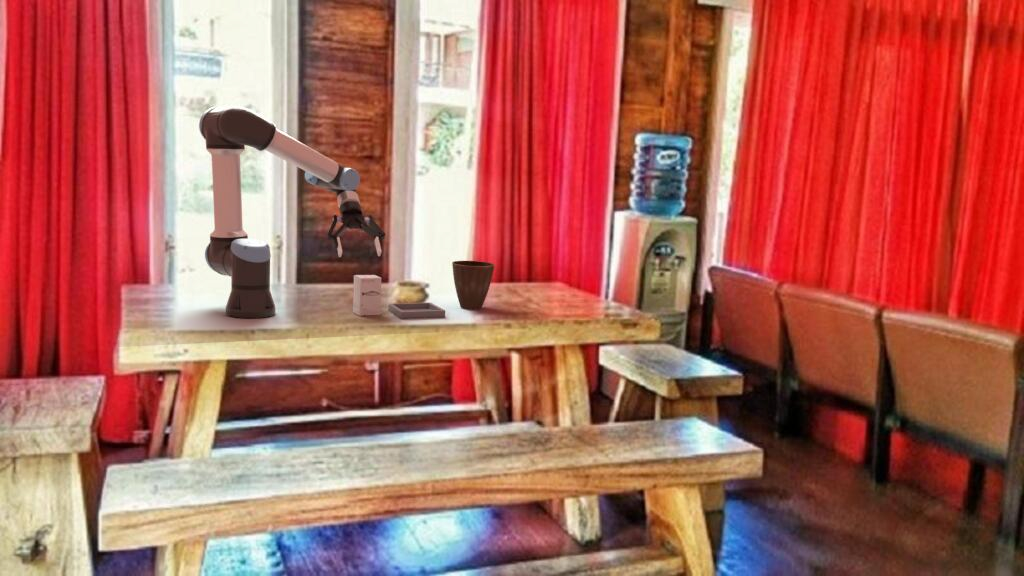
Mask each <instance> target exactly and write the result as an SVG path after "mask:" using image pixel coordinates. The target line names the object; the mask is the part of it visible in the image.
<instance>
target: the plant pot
mask: <svg viewBox="0 0 1024 576" xmlns="http://www.w3.org/2000/svg"><path fill="white" fill-rule="evenodd" d="M451 265H452V274H453V283H454V288H455V292H456V296H457V299H458V303H459V306H460V308H461V309H464V310H470V309H472V310H473V309H477V310H481V309H482V308H483V305H484V303H485V300H486V298H487V296H488V293H489V290H490V286H491V283H492V279H493V276H494V270H495V264H494V263H492V262H488V261H487V262H486V261H480V260H479V261H478V260H455V261H452V264H451ZM472 310H471V311H472Z"/></svg>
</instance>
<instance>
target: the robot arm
mask: <svg viewBox="0 0 1024 576" xmlns="http://www.w3.org/2000/svg"><path fill="white" fill-rule="evenodd" d="M198 129H199V132H200V134H201V136H202V137H203V139H204V140H205V149H206V151H207V152H209V154H211V170H212V171H211V173H212V194H213V219H214V222H213V223H214V230H213V231H212V232H211V233H210V234H209V243H208V245H207V246H206V248H205V251H204V258H205V261H206V264H207V266H208V267H209V268H210V269H211V270H212V271H213V272H215V273H217V274H219V275H222V276H227V277H231V279H230V280H231V284H230V285H231V290H230V293H229V296H228V300H227V301H226V305H225V315H226V314H227V315H226V316H228V315H229V316H228V317H231V316H233V317H232V318H237V317H239V319H261V318H268V317H271V316H272V317H273V316H274V315H276V304H275V301H274V298H273V296H272V293H271V256H272V255H271V247H270V245H269V244H268V243H267V242H266V241H263V240H260V239H254V238H249V237H248V236H249V233H247V232H246V231H245V230H244V229H243V228H244V227H243V207H242V205H243V204H242V203H243V202H242V200H243V199H242V179H241V178H242V177H241V173H242V171H241V155H242V153H244V152H245V149H246V147H245V146H247V147H250V148H253V149H256V150H258V151H259V152H264V151H267V152H268V153H270V154H272V155H274V156H276V157H278V158H280V159H282V160H283V161H285V162H288V163H289V164H292V165H294V166H295V167H296V168H299V169H301V170H302V171H304V172H305V173H304V179H305V181H306V182H307V183H309V184H311V185H312V186H316V187H319V188H321V189H323V190H326V191H328V192H331V193H333V194H335V196H336V200H337V205H338V208H339V209H338V210H339V214H340V216H338V215H337V214H333V217H332V223H331V226H330V228H329V231H328V232H327V236H326V240H327V241H331V243H333V248H335V249H336V250H337V254H338V258H342V257H343V256H342V255H343V247H342V243H341V239H340V236H341V235H342V234H343V233H344V232H345V231H346V230H347V229H349V230H356V229H357V230H361V231H363V232H365V233H366V234H368V236H370V237H371V238H373V239H374V246H375V250H376V253H377V254H376V255H377V256H378V257H381V254H382V247H383V241H382V240H385V237H386V232H384V230H383V229H382V228H381V227H380V226H379V225H378V223H377V222H376V221H375V220H374V219H373V216H372V215H371V214H369V215H368V216H364V214H363V211H362V206H361V201H360V198H359V193H358V189H357V188H358V187H359V185H360V183H361V176H360V173H359V172H358V171H357V170H356V169H354V168H351V167H345V166H343V165H342V164H340V163H338V162H336V161H335V160H333V159H331V158H329V157H327V156H325V155H324V154H322V153H321V152H319V151H317V150H315V149H313V148H312V147H310V146H307V145H306V144H304V143H303V142H301V141H299V140H297V139H295V138H294V137H292V136H290V135H288V134H287V133H285V132H283V131H281V130H279V129H278V128H277V126H276V124H275V123H274V122H272V121H270V120H268V119H266V118H265V117H263V116H261V115H260V114H259V113H256V112H254V111H252V110H251V109H249V108H246V107H243V106H240V105H231V106H229V105H228V106H223V105H218V106H215V107H213V106H212V107H211V108H208V109H207V110H205V112H204V113H202V115H201V117H200V119H199V124H198ZM340 222H341V224H342V225H341V226H340V227H339V228H338V229H337V230H336V232H335V233H334V231H335V229H336V226H337V224H339V223H340ZM333 233H334V234H333Z"/></svg>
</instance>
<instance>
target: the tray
mask: <svg viewBox="0 0 1024 576" xmlns="http://www.w3.org/2000/svg"><path fill="white" fill-rule="evenodd" d="M387 305H388V306H387V307H388V308H387V309H388V311H387V312H389V313H391V314H392V315H394V316H396V317H397V318H399V319H400V320H411V319H412V320H417V319H418V320H419V319H422V320H423V319H443V318H444V319H445V318H446V310H445V309H444V308H441V307H439V306H438V305H436V304H434V303H433V302H402V303H401V302H399V303H388V304H387Z"/></svg>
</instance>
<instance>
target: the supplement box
mask: <svg viewBox="0 0 1024 576" xmlns="http://www.w3.org/2000/svg"><path fill="white" fill-rule="evenodd" d="M352 296H353V299H352V300H353V302H352V313H354V314H356V315H357V316H358V315H359V316H358V317H363V316H364V315H365V316H380V315H381V303H382V302H381V301H382V277H380V276H378V275H376V274H355V275H353V295H352Z"/></svg>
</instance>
